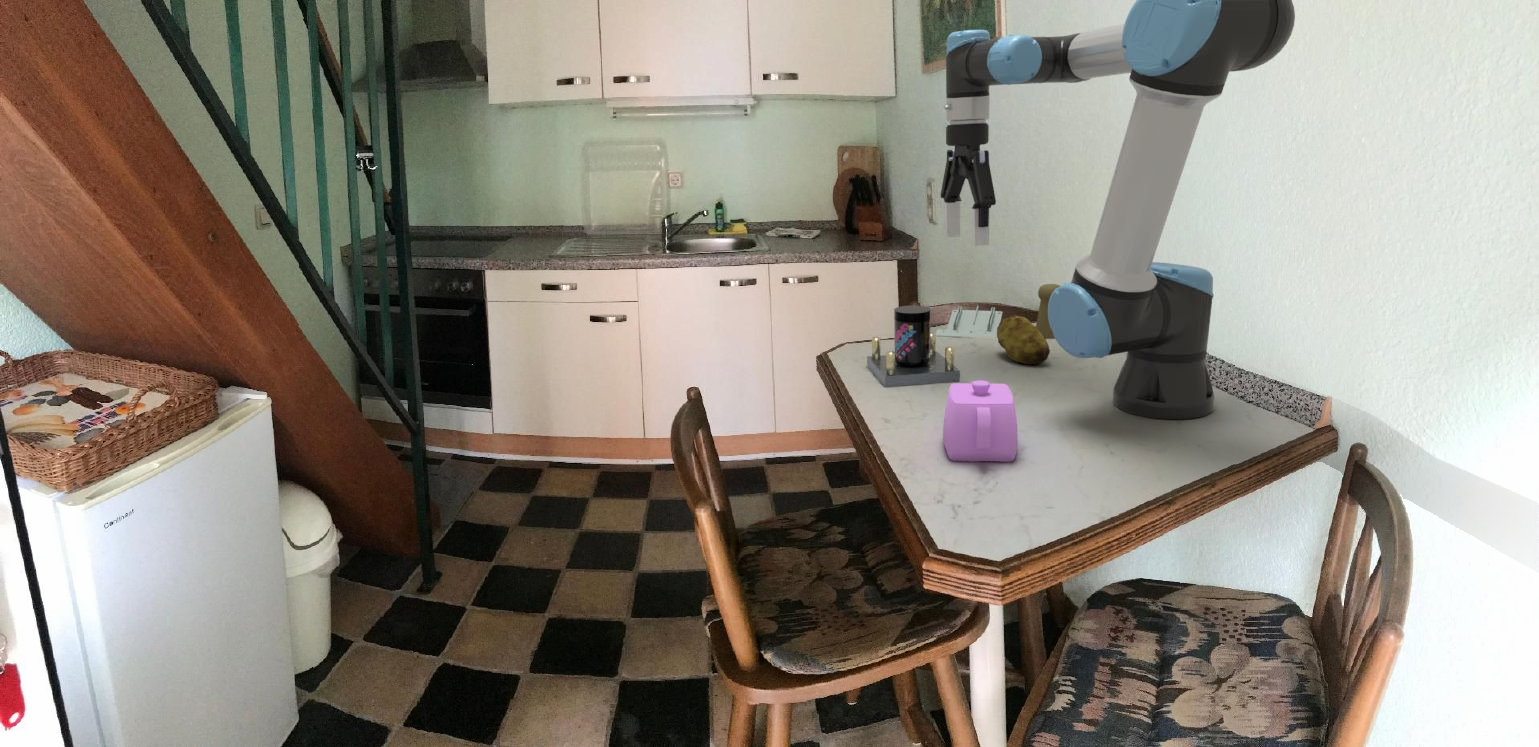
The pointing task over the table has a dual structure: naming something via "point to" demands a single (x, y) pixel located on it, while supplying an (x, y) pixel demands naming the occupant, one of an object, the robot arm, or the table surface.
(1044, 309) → the tan game pawn
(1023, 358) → the potato
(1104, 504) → the table surface
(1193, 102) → the robot arm
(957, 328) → the metal bracket
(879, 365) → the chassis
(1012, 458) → the teapot
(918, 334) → the supplement container
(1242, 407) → the table surface
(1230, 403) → the table surface
